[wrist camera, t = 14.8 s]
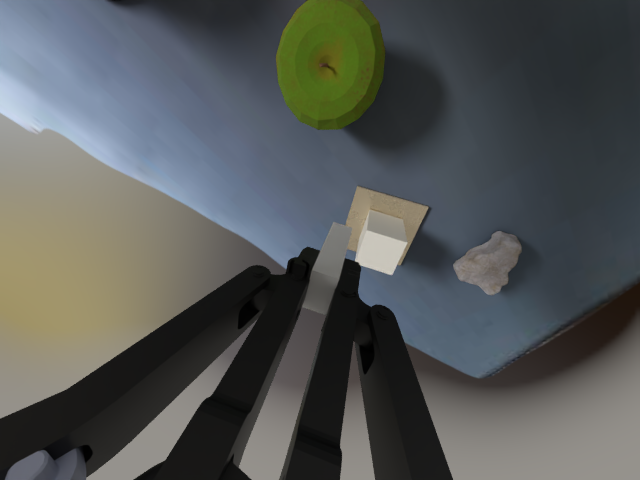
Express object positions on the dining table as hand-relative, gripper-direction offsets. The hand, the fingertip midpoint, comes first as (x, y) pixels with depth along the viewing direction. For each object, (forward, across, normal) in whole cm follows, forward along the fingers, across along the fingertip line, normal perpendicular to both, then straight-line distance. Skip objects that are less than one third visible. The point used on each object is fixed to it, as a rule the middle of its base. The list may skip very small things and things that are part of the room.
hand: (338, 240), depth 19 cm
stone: (+25, +24, -7) cm, 35 cm away
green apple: (+25, -7, +12) cm, 28 cm away
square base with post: (+24, +6, -8) cm, 26 cm away
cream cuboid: (+23, +6, -8) cm, 25 cm away
